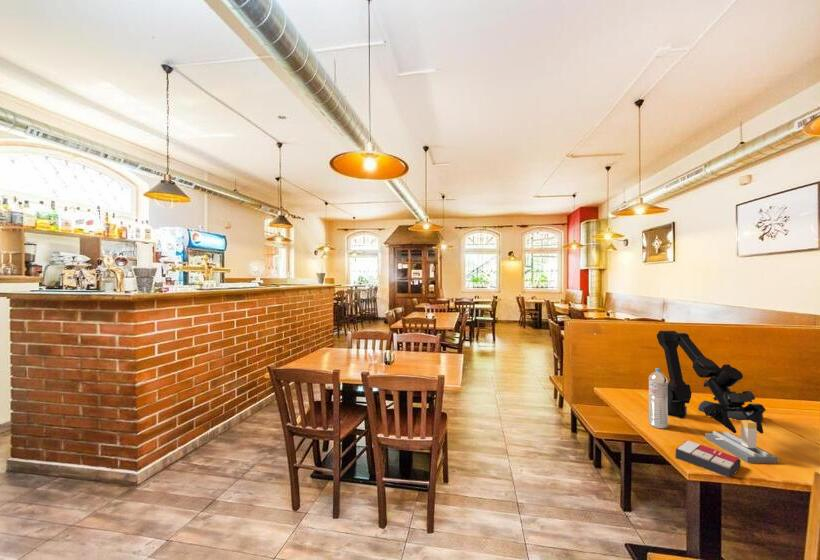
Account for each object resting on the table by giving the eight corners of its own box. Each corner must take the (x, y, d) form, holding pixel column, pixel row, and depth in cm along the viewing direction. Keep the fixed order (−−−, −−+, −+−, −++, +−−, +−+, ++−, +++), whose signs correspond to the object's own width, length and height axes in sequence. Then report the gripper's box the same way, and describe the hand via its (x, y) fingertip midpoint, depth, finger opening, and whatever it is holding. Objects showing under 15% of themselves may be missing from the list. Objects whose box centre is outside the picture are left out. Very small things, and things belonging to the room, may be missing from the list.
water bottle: (671, 429, 144) (671, 371, 144) (653, 428, 146) (653, 370, 145) (663, 423, 151) (662, 366, 151) (645, 421, 152) (645, 366, 152)
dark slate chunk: (703, 403, 174) (703, 394, 174) (765, 417, 157) (765, 407, 157) (695, 411, 164) (695, 401, 164) (760, 426, 147) (760, 416, 147)
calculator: (731, 467, 110) (675, 446, 122) (730, 480, 110) (674, 458, 123) (741, 457, 116) (687, 438, 129) (740, 469, 116) (686, 449, 129)
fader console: (705, 438, 137) (705, 430, 137) (731, 438, 136) (731, 430, 136) (747, 462, 119) (747, 454, 119) (777, 463, 118) (777, 454, 118)
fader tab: (740, 446, 125) (740, 419, 125) (749, 446, 125) (749, 419, 125) (748, 451, 122) (748, 423, 122) (757, 451, 122) (757, 423, 122)
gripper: (709, 382, 129) (736, 423, 118) (760, 382, 128) (792, 424, 117) (693, 396, 137) (717, 436, 126) (741, 396, 136) (769, 436, 125)
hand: (748, 433), depth 123 cm, fingers open, 9 cm apart
